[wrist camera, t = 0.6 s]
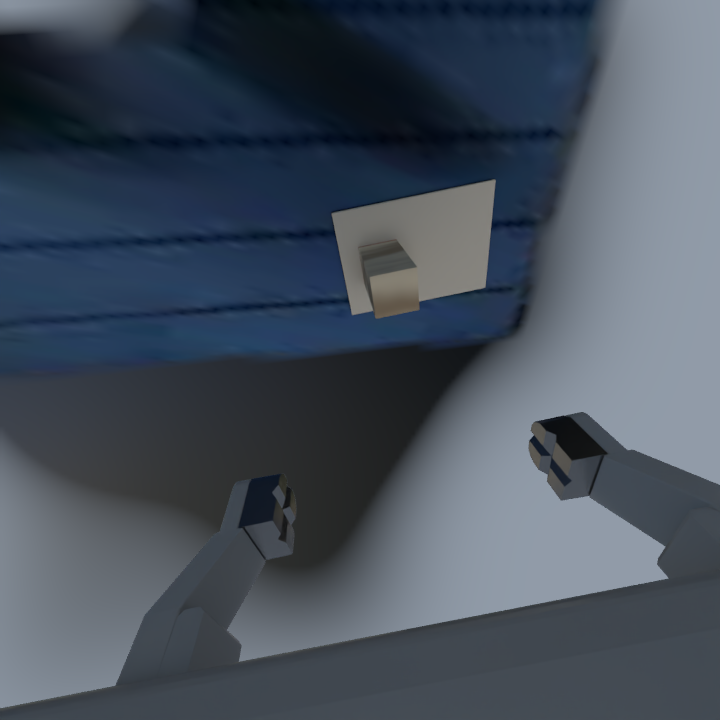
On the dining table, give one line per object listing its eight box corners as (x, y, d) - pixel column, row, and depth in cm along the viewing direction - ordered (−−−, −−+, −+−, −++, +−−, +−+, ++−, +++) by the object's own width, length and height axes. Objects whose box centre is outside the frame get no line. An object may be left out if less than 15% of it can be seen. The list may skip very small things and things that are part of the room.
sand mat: (331, 212, 37) (331, 213, 37) (493, 179, 37) (495, 179, 37) (351, 313, 46) (352, 315, 45) (483, 286, 46) (485, 287, 45)
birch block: (358, 247, 39) (369, 276, 32) (396, 239, 39) (417, 267, 32) (364, 283, 42) (375, 318, 35) (399, 275, 42) (419, 309, 35)
